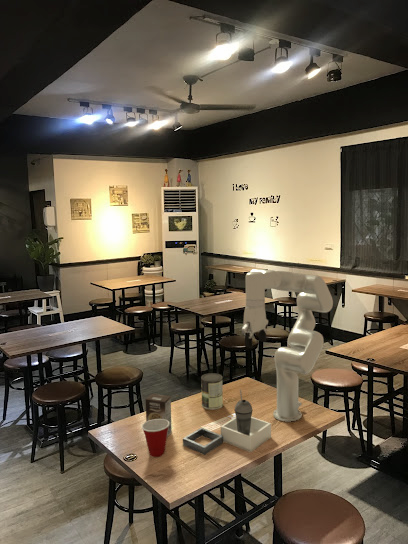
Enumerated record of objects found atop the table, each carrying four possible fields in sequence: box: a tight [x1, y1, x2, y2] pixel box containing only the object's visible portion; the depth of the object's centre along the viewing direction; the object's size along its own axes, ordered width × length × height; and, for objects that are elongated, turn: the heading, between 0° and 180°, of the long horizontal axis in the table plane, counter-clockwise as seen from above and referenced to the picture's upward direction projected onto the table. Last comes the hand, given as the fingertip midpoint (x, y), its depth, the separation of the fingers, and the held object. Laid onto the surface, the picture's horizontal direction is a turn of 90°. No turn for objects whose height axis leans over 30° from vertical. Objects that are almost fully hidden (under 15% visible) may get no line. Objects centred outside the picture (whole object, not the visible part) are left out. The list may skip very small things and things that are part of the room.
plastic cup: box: [140, 419, 169, 458], centre depth 168 cm, size 11×11×12 cm
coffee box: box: [145, 393, 173, 438], centre depth 183 cm, size 9×6×16 cm
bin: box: [220, 416, 272, 453], centre depth 178 cm, size 15×15×6 cm
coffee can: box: [200, 372, 224, 411], centre depth 209 cm, size 10×10×14 cm
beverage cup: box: [234, 389, 253, 436], centre depth 176 cm, size 7×7×20 cm
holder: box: [182, 427, 224, 456], centre depth 174 cm, size 11×11×3 cm
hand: (255, 344), depth 177 cm, fingers open, 9 cm apart
